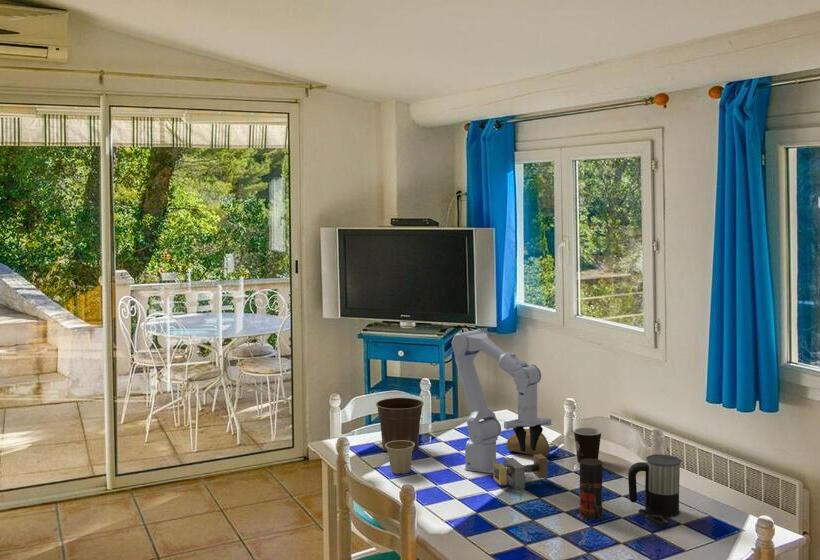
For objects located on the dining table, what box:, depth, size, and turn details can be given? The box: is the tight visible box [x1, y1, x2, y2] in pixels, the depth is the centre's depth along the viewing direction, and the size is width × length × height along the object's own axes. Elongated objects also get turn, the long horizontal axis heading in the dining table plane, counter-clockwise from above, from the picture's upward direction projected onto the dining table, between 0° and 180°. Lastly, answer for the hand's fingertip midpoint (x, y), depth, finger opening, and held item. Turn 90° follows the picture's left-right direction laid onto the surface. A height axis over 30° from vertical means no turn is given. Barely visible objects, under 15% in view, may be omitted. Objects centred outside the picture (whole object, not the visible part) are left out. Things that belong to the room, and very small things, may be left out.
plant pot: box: [375, 397, 424, 452], centre depth 295 cm, size 16×16×16 cm
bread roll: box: [505, 428, 550, 457], centre depth 287 cm, size 10×15×8 cm, turn 62°
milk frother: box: [627, 454, 683, 527], centre depth 230 cm, size 14×16×15 cm
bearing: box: [503, 457, 526, 490], centre depth 258 cm, size 3×9×6 cm, turn 15°
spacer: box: [492, 461, 508, 486], centre depth 257 cm, size 2×6×5 cm, turn 15°
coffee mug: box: [573, 427, 602, 464], centre depth 279 cm, size 12×9×10 cm
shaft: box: [494, 454, 548, 479], centre depth 259 cm, size 16×4×6 cm, turn 105°
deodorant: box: [579, 458, 603, 521], centre depth 232 cm, size 6×6×15 cm
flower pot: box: [385, 440, 415, 475], centre depth 272 cm, size 9×9×9 cm
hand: (527, 450), depth 259 cm, fingers open, 3 cm apart
